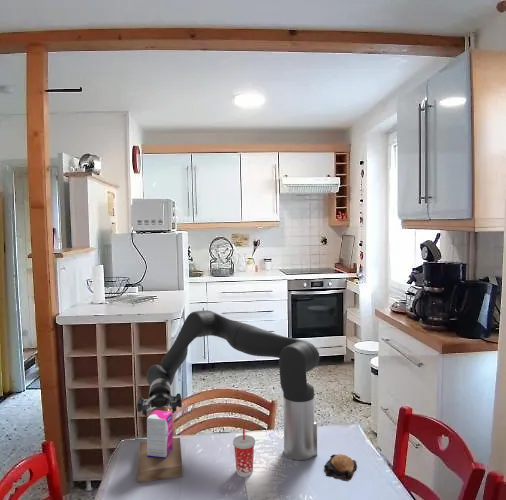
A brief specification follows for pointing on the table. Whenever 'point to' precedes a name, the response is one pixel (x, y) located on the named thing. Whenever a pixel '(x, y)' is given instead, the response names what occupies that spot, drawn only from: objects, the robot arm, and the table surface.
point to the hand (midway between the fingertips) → (159, 411)
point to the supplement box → (159, 434)
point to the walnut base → (159, 464)
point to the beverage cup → (244, 453)
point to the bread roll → (340, 467)
